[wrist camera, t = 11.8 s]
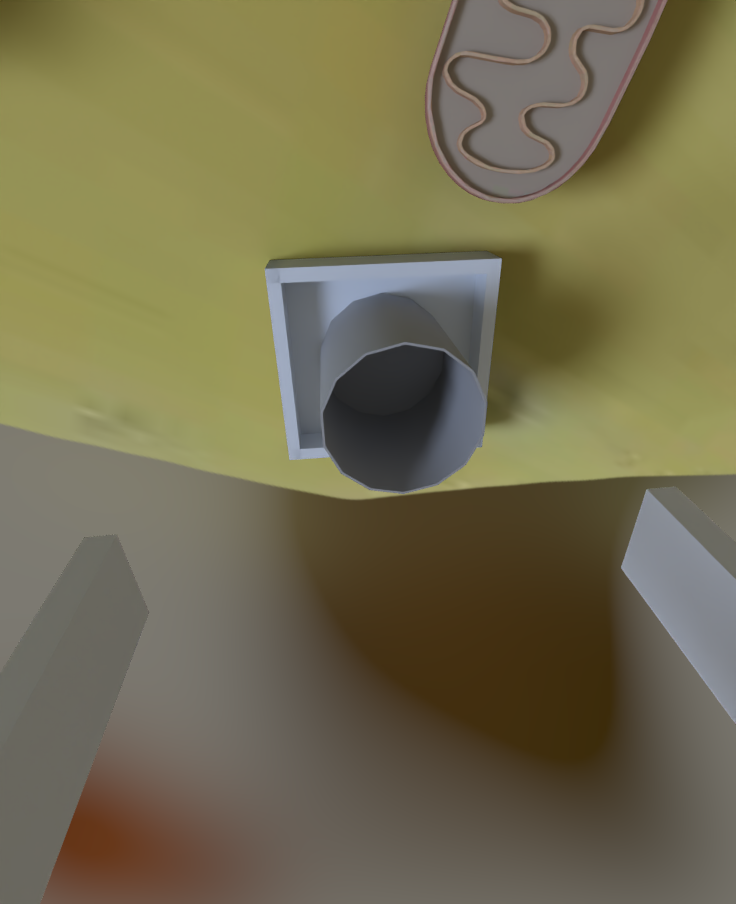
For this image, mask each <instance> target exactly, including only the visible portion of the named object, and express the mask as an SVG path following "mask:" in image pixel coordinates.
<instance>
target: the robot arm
mask: <svg viewBox="0 0 736 904" xmlns="http://www.w3.org/2000/svg"><path fill="white" fill-rule="evenodd" d="M621 568H622V570H623V571H624V572H625V574H626V575H627V577H628V578H629V579H630V581H631V582H632V583H633V585H634V586H635V587H636V589H637V590H638V592H639V593H640V594H641V596H642V597H643V598H644V600H645V601H646V603H647V604H648V605H649V607H650V608H651V609H652V611H653V612H654V613H655V615H656V616H657V618H658V619H659V620H660V622H661V623H662V624H663V626H664V627H665V628H666V630H667V631H668V633H669V634H670V635H671V637H672V638H673V639H674V641H675V642H676V643H677V645H678V646H679V647H680V649H681V650H682V652H683V653H684V654H685V656H686V657H687V658H688V660H689V661H690V663H691V664H692V665H693V666H694V668H695V669H696V670H697V672H698V673H699V675H700V676H701V678H702V679H703V680H704V682H705V683H706V684H707V686H708V687H709V688H710V690H711V691H712V693H713V694H714V695H715V697H716V698H717V699H718V701H719V702H720V703H721V705H722V706H723V707H724V709H725V710H726V711H727V713H728V714H729V716H730V717H731V718H732V720H733V721H734V723H735V724H736V542H735V541H734V540H733V539H732V538H731V537H730V536H729V535H728V534H726V533H725V532H724V531H723V530H722V529H721V528H720V527H719V526H718V525H717V524H716V523H714V521H712V520H711V519H710V518H709V517H708V516H707V515H706V514H705V513H704V512H703V511H702V510H700V508H698V507H697V506H696V505H695V504H694V503H693V502H692V501H691V500H690V499H689V498H688V497H686V496H685V495H684V494H683V493H682V492H681V491H680V490H679V489H678V488H677V487H666V488H654V489H647V490H646V493H645V496H644V499H643V502H642V505H641V508H640V511H639V515H638V518H637V521H636V524H635V527H634V530H633V533H632V536H631V539H630V542H629V545H628V549H627V551H626V555H625V558H624V561H623V564H622V567H621ZM148 614H149V611H148V609H147V606H146V603H145V601H144V599H143V596H142V594H141V591H140V589H139V586H138V584H137V582H136V579H135V577H134V574H133V572H132V570H131V567H130V565H129V562H128V560H127V557H126V555H125V553H124V550H123V548H122V545H121V543H120V540H119V538H118V536H117V535H106V536H96V537H95V536H94V537H84V539H83V540H82V542H81V543H80V545H79V547H78V548H77V550H76V552H75V553H74V555H73V556H72V558H71V560H70V561H69V563H68V564H67V566H66V568H65V569H64V571H63V573H62V574H61V576H60V577H59V579H58V581H57V582H56V584H55V585H54V587H53V589H52V590H51V592H50V594H49V595H48V597H47V598H46V600H45V601H44V603H43V605H42V606H41V608H40V610H39V611H38V613H37V614H36V616H35V618H34V619H33V621H32V623H31V624H30V626H29V627H28V629H27V631H26V632H25V634H24V636H23V637H22V639H21V640H20V642H19V643H18V645H17V647H16V648H15V650H14V652H13V653H12V655H11V656H10V658H9V660H8V661H7V663H6V665H5V666H4V668H3V669H2V671H1V672H0V904H40V902H41V899H42V897H43V894H44V891H45V889H46V886H47V883H48V881H49V878H50V875H51V873H52V870H53V867H54V864H55V862H56V859H57V857H58V854H59V851H60V848H61V845H62V843H63V841H64V838H65V835H66V833H67V830H68V827H69V825H70V822H71V819H72V817H73V814H74V811H75V808H76V806H77V803H78V801H79V798H80V795H81V793H82V790H83V787H84V785H85V782H86V779H87V777H88V774H89V771H90V769H91V766H92V763H93V761H94V758H95V755H96V753H97V750H98V747H99V745H100V742H101V739H102V737H103V734H104V731H105V729H106V726H107V723H108V721H109V718H110V715H111V713H112V710H113V708H114V705H115V702H116V700H117V697H118V694H119V691H120V689H121V686H122V684H123V681H124V678H125V676H126V673H127V670H128V667H129V665H130V662H131V660H132V657H133V654H134V652H135V649H136V646H137V644H138V641H139V638H140V636H141V633H142V630H143V628H144V625H145V622H146V620H147V617H148Z"/></svg>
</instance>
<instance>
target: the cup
mask: <svg viewBox="0 0 736 904" xmlns="http://www.w3.org/2000/svg"><path fill="white" fill-rule="evenodd" d="M486 411H487V400H486V398H485V396H484V393H483V391H482V388H481V386H480V384H479V381H478V379H477V377H476V374H475V372H474V370H473V369H472V368H471V366H470V365H469V364H468V362H467V361H466V360H465V358H464V357H463V356H462V354H461V353H460V352H459V350H458V349H457V348H456V346H455V345H454V344H453V342H452V341H451V340H450V338H449V337H448V336H447V334H446V333H445V332H444V330H443V329H442V327H441V326H440V325H439V323H438V322H437V321H436V319H435V318H434V317H433V315H431V314H430V313H429V312H427V311H426V310H425V309H424V308H422V307H421V306H420V305H418V304H417V303H416V302H415V301H413V300H412V299H411V298H407V297H401V296H396V295H390V294H385V293H380V294H376V295H373V296H369V297H366V298H362V299H359V300H355V301H353V302H352V303H350V304H349V305H348V306H347V307H346V308H345V309H344V310H343V311H341V312H340V313H339V314H338V315H337V316H336V317H335V318H334V319H333V320H331V322H330V325H329V327H328V330H327V332H326V335H325V337H324V340H323V342H322V345H321V359H320V418H321V429H322V441H323V447H324V449H325V450H326V452H327V453H328V455H329V456H330V458H331V459H332V461H333V462H334V464H335V465H336V467H337V468H338V470H339V471H340V473H341V474H343V475H345V476H346V477H348V478H350V479H352V480H353V481H355V482H357V483H359V484H360V485H362V486H364V487H366V488H367V489H369V490H374V491H383V492H392V493H401V494H405V493H409V492H413V491H417V490H420V489H424V488H428V487H432V486H436V485H438V484H440V483H441V482H442V481H444V480H445V479H447V478H448V477H449V476H451V475H452V474H454V473H455V472H456V471H458V470H459V469H461V468H462V467H463V466H465V465H466V464H467V462H468V461H469V459H470V457H471V456H472V454H473V452H474V451H475V449H476V448H477V446H478V444H479V443H480V441H481V440H482V438H483V436H484V430H485V421H486Z"/></svg>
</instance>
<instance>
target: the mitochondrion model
mask: <svg viewBox="0 0 736 904" xmlns="http://www.w3.org/2000/svg"><path fill="white" fill-rule="evenodd" d="M666 2H667V0H452V3H451V6H450V9H449V12H448V15H447V18H446V21H445V24H444V27H443V30H442V33H441V37H440V40H439V43H438V46H437V49H436V52H435V55H434V58H433V61H432V64H431V68H430V72H429V76H428V80H427V84H426V92H425V118H426V124H427V130H428V135H429V138H430V142H431V145H432V148H433V151H434V153H435V155H436V157H437V159H438V161H439V163H440V164H441V166H442V167H443V169H444V170H445V172H446V173H447V174H448V176H449V177H450V178H451V179H452V180H453V181H454V182H455V183H456V184H457V185H458V186H460V187H461V188H462V189H464V190H465V191H467V192H468V193H470V194H472V195H474V196H476V197H478V198H480V199H484V200H487V201H492V202H498V203H521V202H525V201H530V200H533V199H535V198H538V197H540V196H542V195H545V194H547V193H549V192H551V191H552V190H554V189H556V188H558V187H559V186H561V185H562V184H563V183H564V182H566V181H567V180H568V179H569V178H570V177H571V176H572V175H573V174H574V173H575V172H576V171H577V170H578V169H579V168H580V167H581V166H582V165H583V164H584V163H585V162H586V160H587V159H588V158H589V156H590V155H591V154H592V152H593V151H594V150H595V148H596V146H597V145H598V143H599V141H600V139H601V138H602V136H603V134H604V132H605V130H606V129H607V127H608V125H609V123H610V122H611V120H612V118H613V116H614V114H615V111H616V109H617V107H618V105H619V103H620V101H621V99H622V97H623V95H624V93H625V91H626V89H627V87H628V85H629V83H630V81H631V78H632V76H633V74H634V72H635V70H636V68H637V66H638V64H639V62H640V60H641V58H642V56H643V54H644V52H645V50H646V48H647V45H648V43H649V41H650V39H651V37H652V35H653V32H654V30H655V28H656V25H657V23H658V21H659V19H660V16H661V14H662V12H663V9H664V7H665V5H666Z"/></svg>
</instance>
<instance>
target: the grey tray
mask: <svg viewBox="0 0 736 904" xmlns="http://www.w3.org/2000/svg"><path fill="white" fill-rule="evenodd" d="M501 263H502V258H500V257H498V256H496V255H494V254H492V253H490V252H488V251H472V252H449V253H425V254H402V255H379V256H355V257H332V258H308V259H285V260H270V261H269V262H268V264H267V266H266V268H265V274H266V282H267V290H268V297H269V305H270V313H271V321H272V328H273V336H274V344H275V351H276V359H277V367H278V374H279V382H280V390H281V398H282V405H283V413H284V421H285V428H286V436H287V444H288V451H289V459H290V460H294V459H309V458H324V457H330V456H329V455H328V453H327V452H326V450H325V449H324V447H323V441H322V429H321V418H320V359H321V345H322V342H323V340H324V337H325V335H326V332H327V330H328V327H329V325H330V322H331V320H333V319H334V318H335V317H336V316H337V315H338V314H339V313H340V312H341V311H343V310H344V309H345V308H346V307H347V306H348V305H349V304H350V303H352V302H353V301H355V300H359V299H362V298H366V297H369V296H373V295H376V294H380V293H385V294H390V295H396V296H401V297H407V298H411V299H412V300H413V301H415V302H416V303H417V304H418V305H420V306H421V307H422V308H424V309H425V310H426V311H427V312H429V313H430V314H431V315H433V317H434V318H435V319H436V321H437V322H438V323H439V325H440V326H441V327H442V329H443V330H444V332H445V333H446V334H447V336H448V337H449V338H450V340H451V341H452V342H453V344H454V345H455V346H456V348H457V349H458V350H459V352H460V353H461V354H462V356H463V357H464V358H465V360H466V361H467V362H468V364H469V365H470V366H471V368H472V369H473V370H474V372H475V374H476V377H477V379H478V381H479V384H480V386H481V388H482V391H483V393H484V396H485V398H486V400H487V394H488V385H489V375H490V366H491V357H492V347H493V338H494V329H495V319H496V310H497V301H498V291H499V282H500V273H501ZM482 441H483V438H482V440H481V441H480V443H479V444H478V446H477V447H482Z"/></svg>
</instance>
